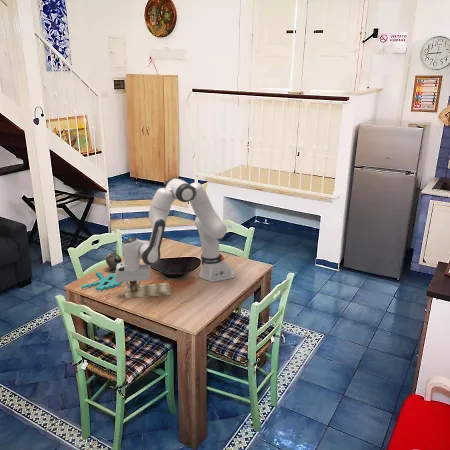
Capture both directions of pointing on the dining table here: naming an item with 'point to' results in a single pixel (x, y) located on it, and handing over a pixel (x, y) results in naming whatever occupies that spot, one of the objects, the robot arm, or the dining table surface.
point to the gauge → (133, 286)
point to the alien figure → (104, 282)
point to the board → (149, 291)
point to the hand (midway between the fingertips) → (133, 287)
